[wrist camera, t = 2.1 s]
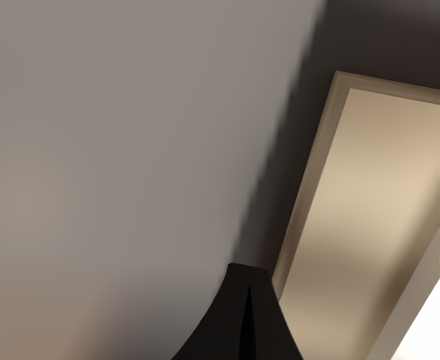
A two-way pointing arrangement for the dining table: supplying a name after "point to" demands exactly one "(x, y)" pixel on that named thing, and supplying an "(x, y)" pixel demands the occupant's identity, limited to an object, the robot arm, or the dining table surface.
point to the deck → (360, 215)
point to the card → (415, 315)
